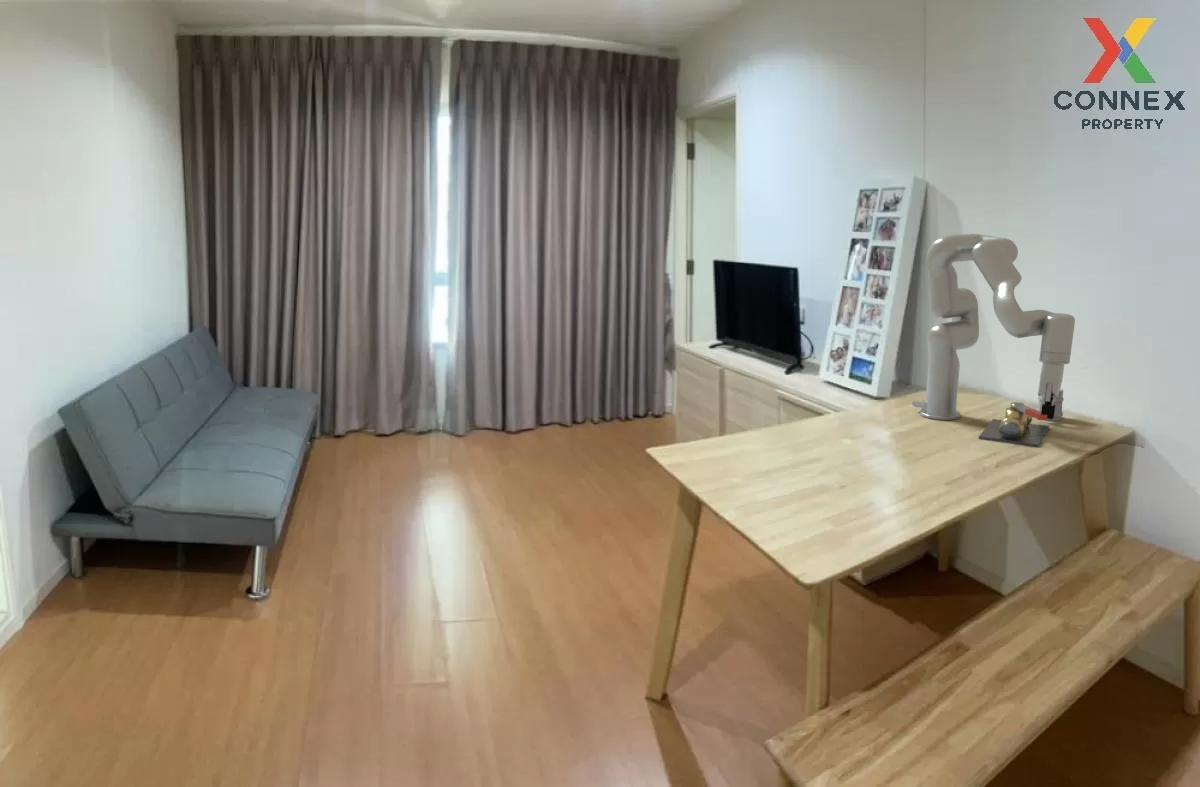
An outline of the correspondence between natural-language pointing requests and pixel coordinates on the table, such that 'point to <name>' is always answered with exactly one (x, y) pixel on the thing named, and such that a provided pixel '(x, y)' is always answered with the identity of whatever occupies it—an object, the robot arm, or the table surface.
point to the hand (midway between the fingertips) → (1047, 417)
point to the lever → (1028, 411)
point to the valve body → (1015, 429)
